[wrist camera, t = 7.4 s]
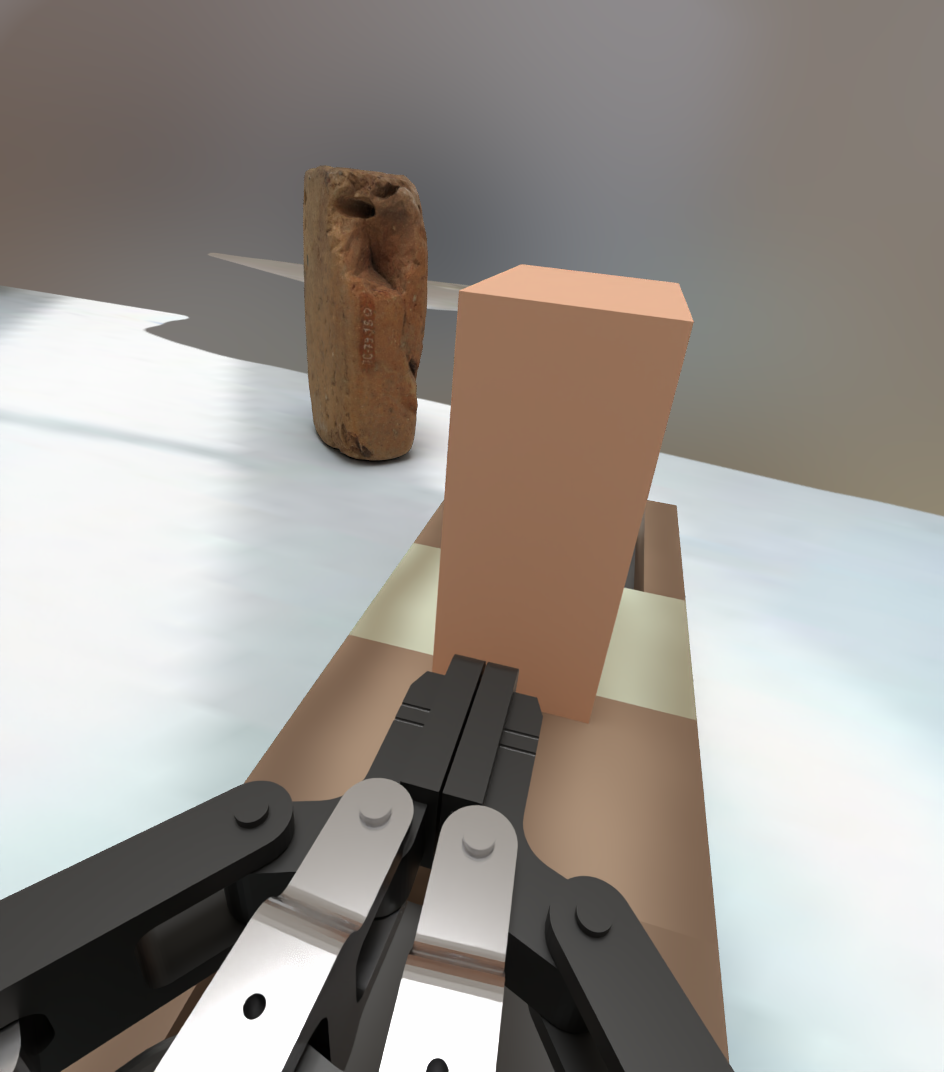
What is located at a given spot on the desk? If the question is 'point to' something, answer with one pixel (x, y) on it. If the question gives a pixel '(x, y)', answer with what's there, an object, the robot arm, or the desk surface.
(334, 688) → the track
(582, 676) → the block
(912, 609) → the desk surface
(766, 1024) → the desk surface
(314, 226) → the block
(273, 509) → the desk surface
